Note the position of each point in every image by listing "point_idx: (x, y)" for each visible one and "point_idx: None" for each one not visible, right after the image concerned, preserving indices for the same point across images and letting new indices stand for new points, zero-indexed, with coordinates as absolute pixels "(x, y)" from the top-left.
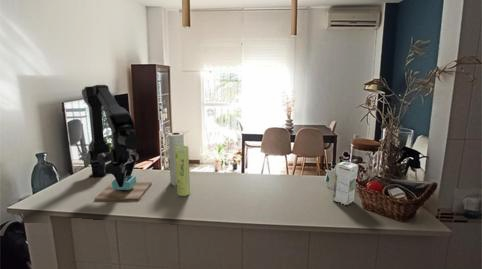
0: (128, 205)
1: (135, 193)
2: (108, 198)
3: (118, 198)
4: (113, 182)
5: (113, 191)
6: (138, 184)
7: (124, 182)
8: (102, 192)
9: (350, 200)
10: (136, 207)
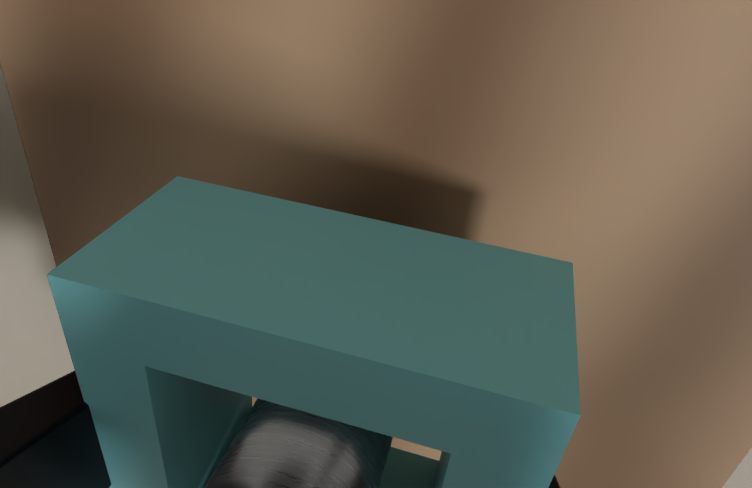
0: (19, 343)
1: None
2: (18, 119)
3: (56, 260)
4: (70, 299)
5: (290, 139)
6: (582, 484)
7: (119, 483)
8: None
9: None
10: (8, 401)
